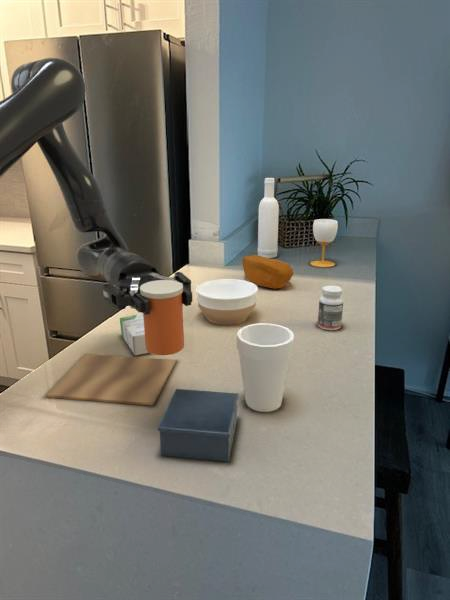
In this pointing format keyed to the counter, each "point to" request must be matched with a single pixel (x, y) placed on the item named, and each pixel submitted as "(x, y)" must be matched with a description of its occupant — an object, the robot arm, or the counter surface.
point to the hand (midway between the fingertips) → (168, 303)
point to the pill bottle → (330, 308)
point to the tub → (163, 317)
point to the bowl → (226, 300)
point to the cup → (324, 238)
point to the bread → (266, 271)
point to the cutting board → (114, 379)
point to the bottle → (268, 222)
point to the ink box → (134, 333)
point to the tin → (199, 425)
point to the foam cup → (264, 363)
